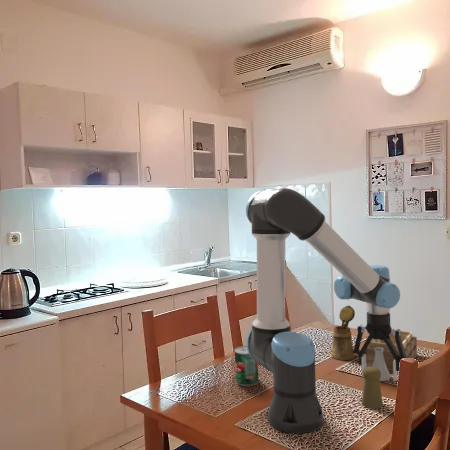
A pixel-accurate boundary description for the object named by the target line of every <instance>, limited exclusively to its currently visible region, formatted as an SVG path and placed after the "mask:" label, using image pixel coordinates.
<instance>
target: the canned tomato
mask: <svg viewBox="0 0 450 450" xmlns="http://www.w3.org/2000/svg"><path fill="white" fill-rule="evenodd" d="M234 368H235V369H234V370H235V371H234V372H235V383H236V384H237V385H238V386H243V387H250V386H251V385H252V386H255V385H258V383H259V382H260V379H259V364H258V363H257V362H256V361H254V360H253V358H252V357H251V356H250V355H249V353H248V350H247V347H246V345H242V346H237V347H235V348H234ZM252 386H251V387H252Z"/></svg>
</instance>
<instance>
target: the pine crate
mask: <svg viewBox="0 0 450 450" xmlns="http://www.w3.org/2000/svg"><path fill="white" fill-rule="evenodd" d="M389 336H390V338H391V341H392V343H393V345H394V346H395V348H396V350H397V352H399V351H398V347H397V344H396V340H395V336H393V333H390V334H389ZM412 336H413V332H412V331H406V330H401V334H400V337H401V340H402V343H403V347H404V349H405V348H406V347H407V345H408V344H409V343H410V341H411V340H412ZM368 348H383V349H384V350H389V348H388V346H387V344H386V343H385V342H384V340H379V339H376V340H375V339H372V340H371V342H370V344H369V345H368ZM389 351H390V350H389Z"/></svg>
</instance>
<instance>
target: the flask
mask: <svg viewBox="0 0 450 450" xmlns="http://www.w3.org/2000/svg"><path fill="white" fill-rule="evenodd" d="M374 351H375V358H374V362H373V365H372V367H376V368H378V369H379V370H380V372H381V377H380V379H379V382H389V381H390V379H391V373H390V371H388V369H387V366H386V364H385V361H384V356H383V351H384V349H383V348H374Z"/></svg>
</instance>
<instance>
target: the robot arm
mask: <svg viewBox="0 0 450 450" xmlns="http://www.w3.org/2000/svg"><path fill="white" fill-rule="evenodd" d="M245 207H246V208H245V214H246V218H247V220H248V222H249V223H250V224H251V235H252V236H253V237H254V238H255V239H256V318H255V319H254V320H253V321H252V322H251V329H250V332H248V334H247V336H246V342H245V346H246V347H247V350H248V353H249V355H250V356H251V357H252V358H253V360H254V361H256V362H257V363H258V366H262V367H263V368H264V369H266V370H267V371H269V372H270V373H271V374H272V377H273V378H272V380H273V394H272V397H271V402H270V404H269V408H268V411H267V415H268V416H267V419H268V423H269V424H270V425H271V426H272V427H273V428H275V429H277V430H279V431H281V432H286V433H289V434H290V433H292V434H304V433H311V432H314V431H317V430H318V429H319V428H321V427H322V426H323V423H324V412H323V409H322V406H321V404H320V401H319V399H318V398H319V397H318V395H317V388H316V387H317V386H316V385H317V384H316V355H317V354H316V351H315V349H316V348H315V343H314V341H313V339H312V338H311V337H310V336H308V335H306V334H304V333H301V332H296V331H291V324H290V321H288V320H287V318H286V239H287V238H289V237H290V235H291V234H293V235H294V236H295V237H297V239H298V240H300V241H303V242H304V241H305V242H307V243H308V245H310V246H311V247H312V248H313V249H314V250H315V251H316V252H318V254H320V256H322V257H323V258H324V259H325V260H326V262H328V264H330V265H331V266H333V268H334V269H335V270H336V271H337V272H339V274H340V275H342V276H338V277H336V278H335V280H334V281H333V290H334V293H335V296H336V297H337V298H338V299H339V300H347V301H348V300H351V299H353V300H356V301H360V302H364V303H366V305H365V307H366V325H362V324H359V325H358V326H357V328H356V329H357V335H356V339H355V343H354V346H353V353H354V354H355V355H358V364H359V365H360V366H361V376H362V377H363V373H362V372H363V369H364V368H366V355H364V352H365V350H366V349H367V347H368V345H369V344H370V342H371V340H372V339H375V340H376V339H379V340H384V342H385V343H386V344H387V346H388V348H389V350H390V352H391V354H392V355H393V357H394V359H395V360H394V361H393V372H392V377H393V379H392V380H393V382H396V381H398V379H399V378H398V374H399V373H398V371H399V362H400V359H402V358H406V354H405V350H404V347H403V343H402V340H401V337H400V334H401V331H402V330H401V329H399V328H398V329H394V328H392V327H391V313H390V312H391V309H392V308H394V307H395V306H397V304H399V302H400V300H401V291H400V288H399V286H398V285H396V284H394V283H392V282H390V281H391V277H390V269H389V267H388V266H386V265H379V264H378V265H377V264H371V265H369V264H368V263H367V262H366V261H365V260H364V259H363V258H362V257H361V256H360V255H359V254H358V253H357V252H356V251H355V249H354V248H352V247H351V246H350V244H349V243H347V242H346V241H345V240H344V239H343V238H342V237H341V235H339V234H338V233H337V232H336V230H335V229H333V227H331V226H330V225H329V224H328V223H327V222H326V216H325V214H323V212H322V211H321V210H320V209H318V207H317V206H315V204H314V203H312V201H310V199H308V198H307V197H305V196H304V195H303V194H301V193H300V192H298V191H296V189H295V190H294V189H292V188H287V187H285V188H283V187H282V188H267V189H266V188H265V189H263V190H259V191H257V192H254V193H253V194H252V195H251V196H250V198H249V199H248V200H247V203H246V206H245ZM365 331H367V333H368V337H367V338H366V340H365V342H364V343H363V345H362V347H361V343H362V339H363V335H364V332H365ZM390 333H393V336H395V340H396V344H397V347H398V351H399V354H400V355H399V354H398V352H397V350H396V348H395V346H394V345H393V343H392V341H391V338H390V336H389V334H390ZM360 347H361V348H360ZM397 378H398V379H397Z"/></svg>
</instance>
